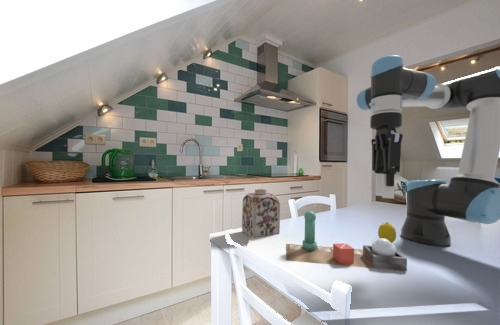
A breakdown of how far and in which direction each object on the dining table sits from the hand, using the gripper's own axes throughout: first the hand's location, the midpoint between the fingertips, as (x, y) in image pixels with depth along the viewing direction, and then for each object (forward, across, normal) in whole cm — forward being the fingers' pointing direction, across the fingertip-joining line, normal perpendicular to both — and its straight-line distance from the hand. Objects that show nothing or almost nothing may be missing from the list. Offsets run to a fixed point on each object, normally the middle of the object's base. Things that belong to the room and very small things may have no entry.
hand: (384, 196), depth 61 cm
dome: (+16, 0, 0) cm, 16 cm away
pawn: (+18, -6, -20) cm, 27 cm away
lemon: (+20, -18, +9) cm, 29 cm away
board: (+20, -2, -12) cm, 23 cm away
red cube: (+18, +1, -11) cm, 21 cm away
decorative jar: (+20, -20, -37) cm, 47 cm away
